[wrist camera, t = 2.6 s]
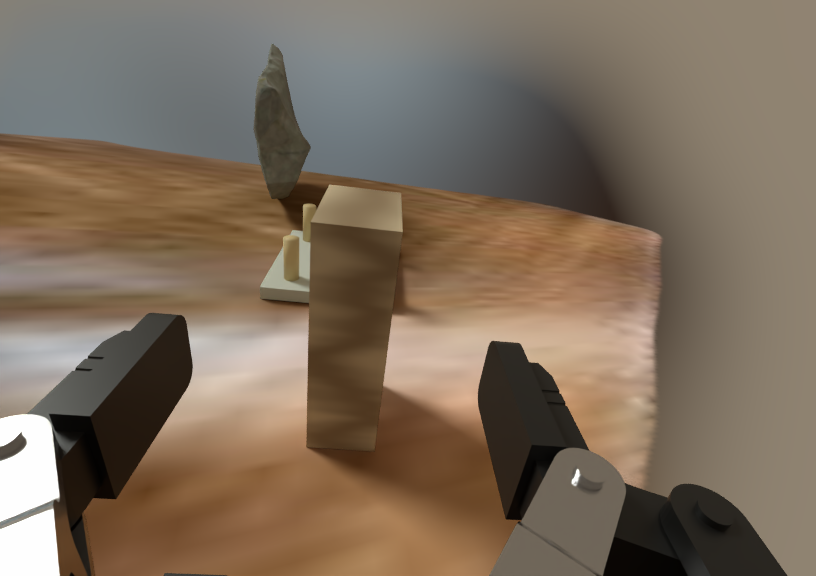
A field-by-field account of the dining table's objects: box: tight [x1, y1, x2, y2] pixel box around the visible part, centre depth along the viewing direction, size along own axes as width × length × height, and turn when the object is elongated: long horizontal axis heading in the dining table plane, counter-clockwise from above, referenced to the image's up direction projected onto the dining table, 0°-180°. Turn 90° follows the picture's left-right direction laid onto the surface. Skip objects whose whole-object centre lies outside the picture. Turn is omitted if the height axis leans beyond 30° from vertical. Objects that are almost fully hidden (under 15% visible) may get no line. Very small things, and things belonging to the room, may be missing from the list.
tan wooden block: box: [306, 185, 403, 451], centre depth 24 cm, size 4×6×14 cm, turn 1°
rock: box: [254, 44, 310, 199], centre depth 58 cm, size 27×6×20 cm, turn 18°
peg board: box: [260, 204, 316, 303], centre depth 44 cm, size 12×14×5 cm
